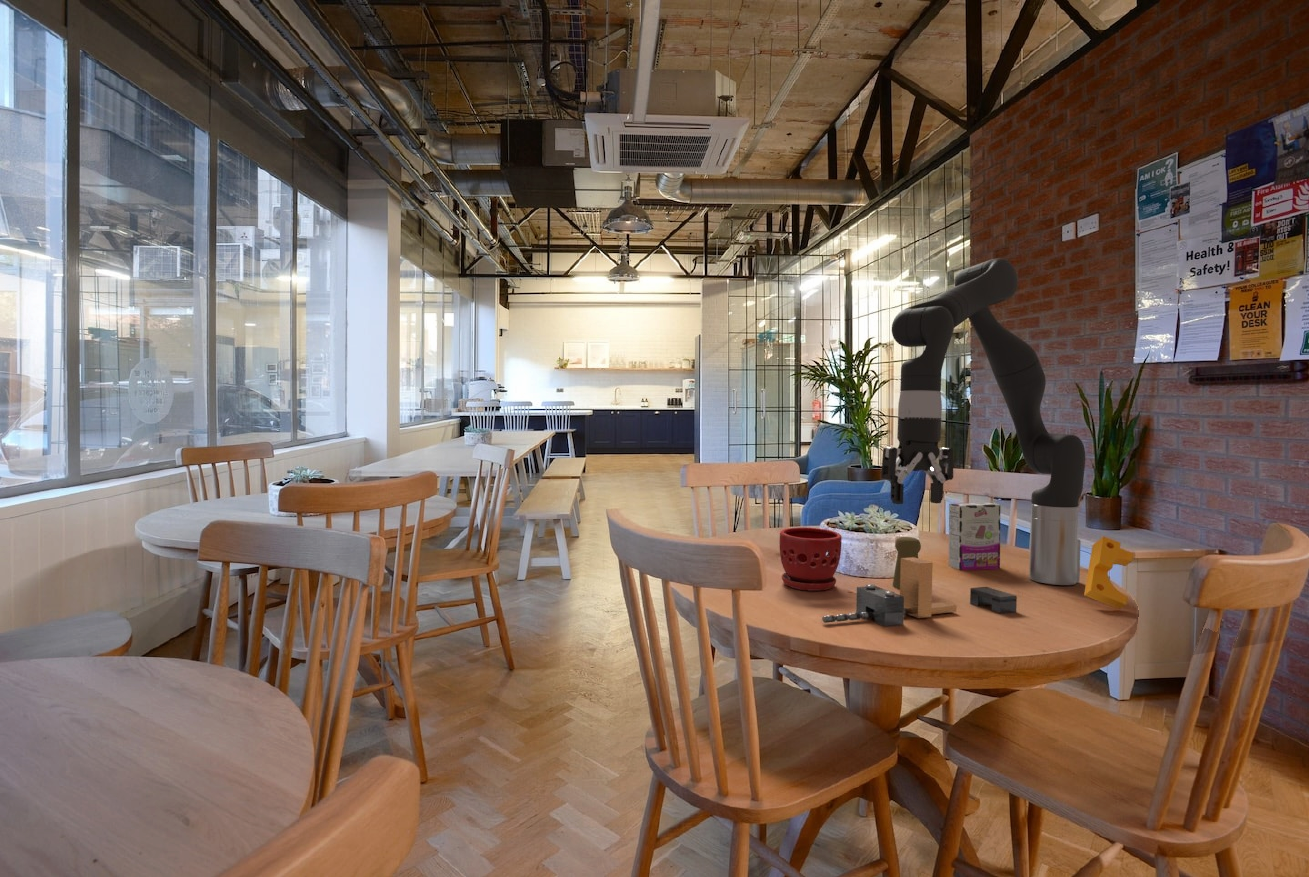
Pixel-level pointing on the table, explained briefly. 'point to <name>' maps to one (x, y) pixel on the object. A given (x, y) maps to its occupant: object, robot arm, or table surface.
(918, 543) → the olive keyhole shaped block
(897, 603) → the block
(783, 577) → the plant pot
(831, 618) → the tie-down chain
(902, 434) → the robot arm
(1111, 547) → the yellow stand
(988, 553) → the candy bar box
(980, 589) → the hook
